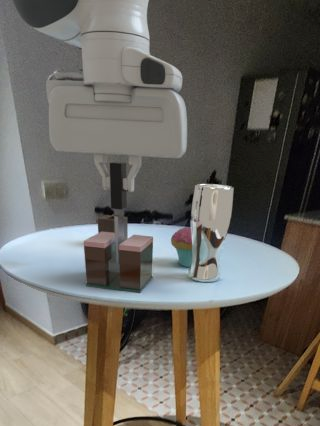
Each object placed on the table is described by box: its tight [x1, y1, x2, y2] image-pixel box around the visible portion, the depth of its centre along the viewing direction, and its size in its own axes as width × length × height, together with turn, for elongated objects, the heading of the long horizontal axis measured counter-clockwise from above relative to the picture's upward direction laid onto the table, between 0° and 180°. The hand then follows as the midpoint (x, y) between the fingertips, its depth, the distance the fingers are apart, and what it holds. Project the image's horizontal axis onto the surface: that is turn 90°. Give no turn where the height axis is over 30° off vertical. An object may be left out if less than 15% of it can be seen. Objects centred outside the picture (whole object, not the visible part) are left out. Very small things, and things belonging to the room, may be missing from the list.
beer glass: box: [187, 183, 235, 283], centre depth 65 cm, size 7×7×15 cm
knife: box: [109, 161, 128, 264], centre depth 59 cm, size 2×3×14 cm, turn 167°
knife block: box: [97, 214, 129, 241], centre depth 85 cm, size 5×5×6 cm
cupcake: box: [170, 226, 192, 268], centre depth 73 cm, size 9×8×12 cm
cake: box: [83, 232, 154, 294], centre depth 63 cm, size 10×9×7 cm
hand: (118, 190), depth 57 cm, fingers closed on knife, 2 cm apart
